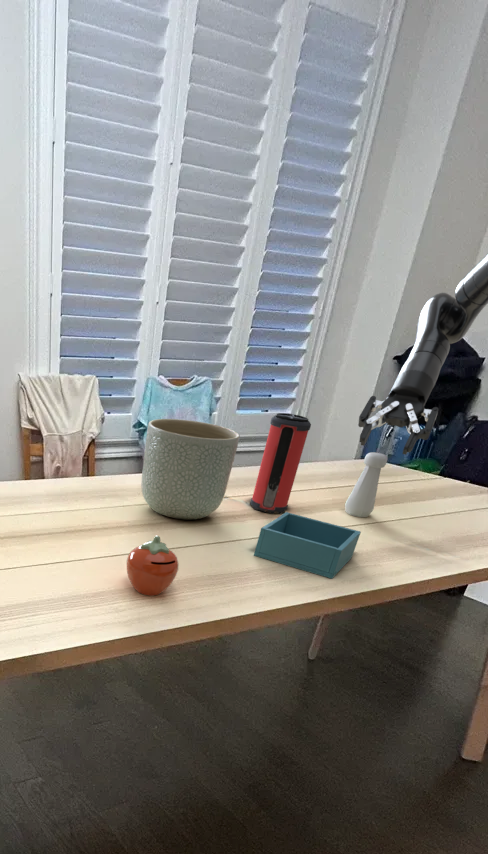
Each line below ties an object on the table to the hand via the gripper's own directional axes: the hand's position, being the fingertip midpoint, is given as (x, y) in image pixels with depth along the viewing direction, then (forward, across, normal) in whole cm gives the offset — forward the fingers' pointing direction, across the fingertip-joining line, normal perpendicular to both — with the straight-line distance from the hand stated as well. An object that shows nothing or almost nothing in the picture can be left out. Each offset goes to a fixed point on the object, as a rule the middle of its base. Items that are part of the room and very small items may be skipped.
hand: (383, 447), depth 131 cm
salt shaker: (+13, 0, +7) cm, 15 cm away
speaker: (+20, -16, -1) cm, 26 cm away
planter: (+34, -28, -14) cm, 46 cm away
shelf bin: (+37, -1, -18) cm, 41 cm away
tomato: (+62, -14, -42) cm, 76 cm away
